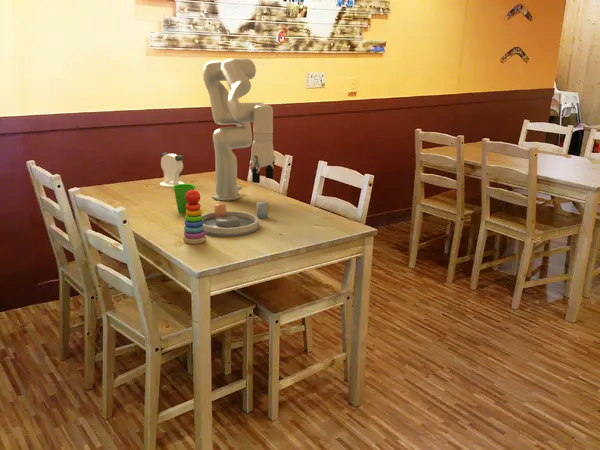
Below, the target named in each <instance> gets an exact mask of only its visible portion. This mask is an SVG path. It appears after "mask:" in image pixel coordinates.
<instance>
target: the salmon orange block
mask: <svg viewBox="0 0 600 450" xmlns="http://www.w3.org/2000/svg"><path fill="white" fill-rule="evenodd" d="M213 209H214V210H213V212H214V219H215V220H216V218H218V217H221V216H226V211H227V204H226V203H225V202H216V203H214V206H213Z"/></svg>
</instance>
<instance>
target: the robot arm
mask: <svg viewBox="0 0 600 450" xmlns="http://www.w3.org/2000/svg"><path fill="white" fill-rule="evenodd" d="M256 72H257V68H256V64H255V63H254V61H252V59H249V58H228V59H225V60H210V61H208V62H206V63H205V64H204V65H203V69H202V77H203V78H202V79H203V82H204V84H205V87H206V90H207V92H208V96H209V102H210V107H211V108H210V109H211V113H212V118H213V121H214V123H215V124H216V125H219V126H220V125H221V126H223V125H224V126H225V125H227V126H226V127H224V126H223V127H219V128H217V129H215V130H214V132H213V133H212V142H213V147H214V155H215V157H214V159H215V162H214V163H215V192H214V193H213V194H212V196H211V197H212V199H213V200H217V201H226V202H227V201H228V202H229V201H236V200H239V199H240V198H241V194H240V193H239V191H240V190H242V189H243V186H242V185H238V159H237V156H236V154H235V153H234V151H232V150H234V149H247V148H249V147H250V146H251V152H250V153H251V154H250V161H249V164H248V165H249V168H250V170H251V173H252V175H251V178H252V179H251V182H252V183H255V184H260V183H261V173H260V170H261V168H264V167H265V178H266V179H271V180H272V179H273V178H274V168H275V163H276V158H277V157H276V156H275V155H274V144H273V141H274V140H273V139H274V137H273V136H274V135H273V133H274V131H273V130H274V123H273V122H274V108H273V106H271V105H270V104H265V103H263V102H240V101H239V99H241V98H242V97H244V96H246V95H247V94H248V93H249V92H250V90H251V88H252V84H251V81H250V80H252V79H254V78H255V76H256ZM222 81H226V83H227V86H228V88H229V89H230V91H228V89H227V87H225V85H224V84H223V83H222ZM251 123H253V124H252V125H253V130H252V126H251ZM228 125H236V126H228ZM252 131H253V133H252Z"/></svg>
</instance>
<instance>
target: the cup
mask: <svg viewBox="0 0 600 450" xmlns="http://www.w3.org/2000/svg"><path fill="white" fill-rule="evenodd" d="M195 188H196V185H195V184H193V183H184V184H177V185H174V186H173V187H172V189H173V190H174V196H175V201H176V205H177V211H178V213H179V214H181V215H186V210H187V208H186V204H187V203H188V202H187V201H186V198H185V196H186V193H187V192H188V191H189V190H195Z"/></svg>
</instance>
